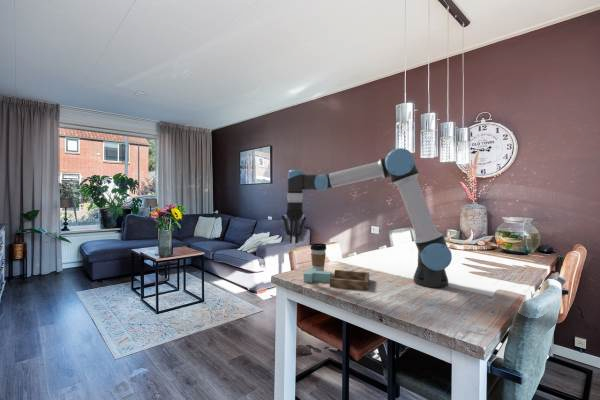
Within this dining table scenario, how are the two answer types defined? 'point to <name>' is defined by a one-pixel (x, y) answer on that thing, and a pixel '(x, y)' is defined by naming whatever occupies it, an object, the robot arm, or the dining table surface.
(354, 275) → the dock
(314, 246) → the coffee cup
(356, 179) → the robot arm
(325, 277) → the tee block
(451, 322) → the dining table surface
